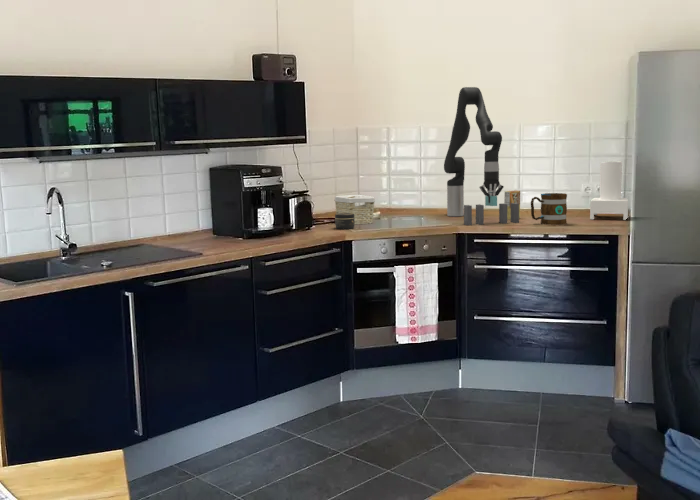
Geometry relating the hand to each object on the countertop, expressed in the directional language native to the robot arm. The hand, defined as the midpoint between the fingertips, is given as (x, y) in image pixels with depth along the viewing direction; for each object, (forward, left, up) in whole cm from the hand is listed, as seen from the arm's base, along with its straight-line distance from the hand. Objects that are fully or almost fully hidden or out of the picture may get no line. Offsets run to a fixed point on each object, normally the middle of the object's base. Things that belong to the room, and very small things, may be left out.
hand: (491, 204), depth 415 cm
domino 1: (0, -13, -10) cm, 17 cm away
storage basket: (-35, -65, -10) cm, 74 cm away
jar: (-9, -76, -10) cm, 77 cm away
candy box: (-17, +19, -10) cm, 28 cm away
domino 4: (0, +13, -10) cm, 17 cm away
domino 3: (0, +6, -10) cm, 12 cm away
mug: (+12, +26, -10) cm, 30 cm away
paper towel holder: (-1, +68, -10) cm, 69 cm away
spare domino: (+4, 0, +2) cm, 5 cm away
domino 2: (0, -7, -10) cm, 12 cm away
